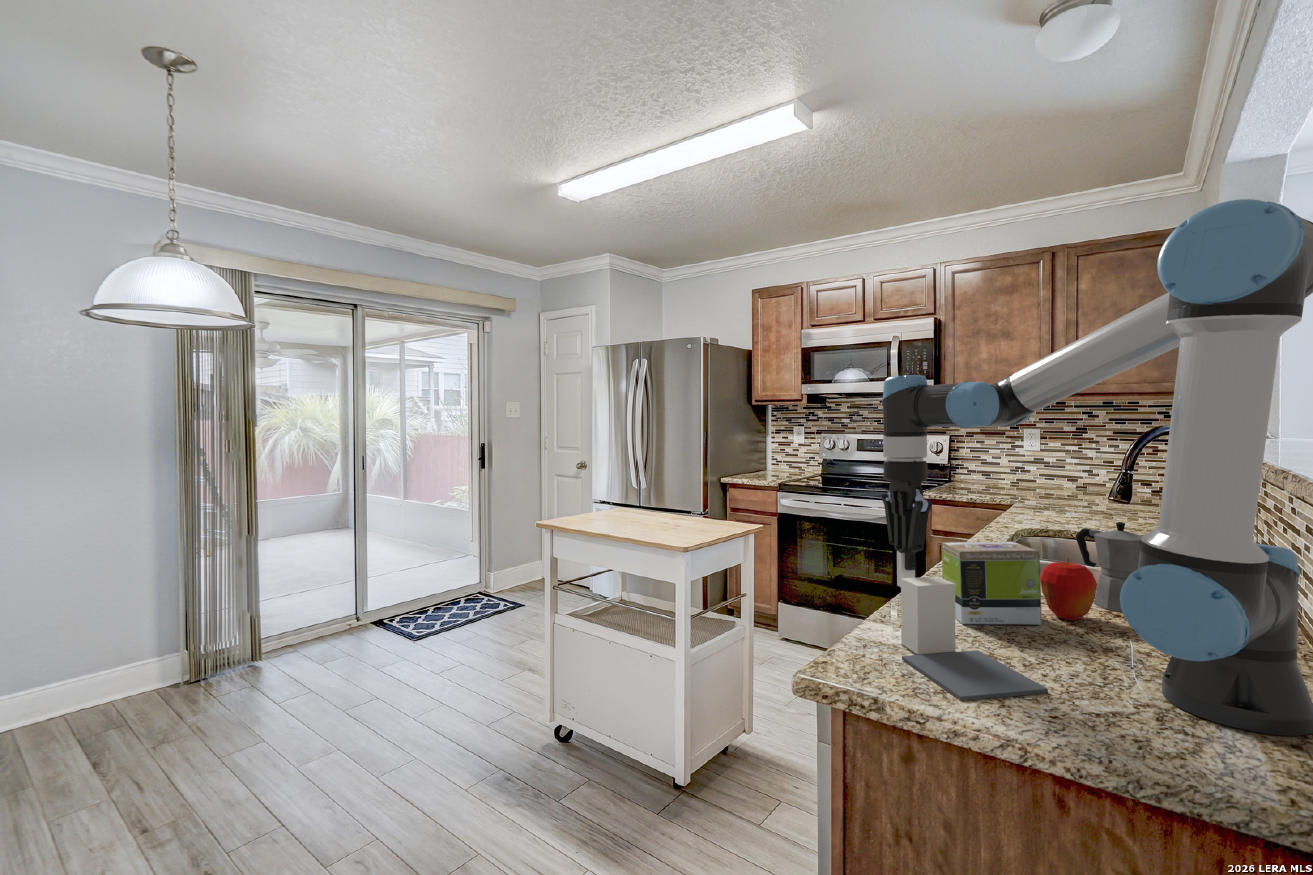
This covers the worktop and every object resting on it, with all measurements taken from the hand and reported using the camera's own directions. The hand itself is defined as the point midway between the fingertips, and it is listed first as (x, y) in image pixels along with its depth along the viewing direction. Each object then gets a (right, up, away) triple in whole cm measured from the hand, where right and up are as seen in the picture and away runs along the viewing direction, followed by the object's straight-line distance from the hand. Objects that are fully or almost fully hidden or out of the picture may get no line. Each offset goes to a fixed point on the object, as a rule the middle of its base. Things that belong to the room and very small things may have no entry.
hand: (906, 586), depth 110 cm
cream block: (+1, -9, -7) cm, 11 cm away
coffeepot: (+51, -8, +16) cm, 54 cm away
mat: (+3, -10, -17) cm, 20 cm away
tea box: (+21, -9, +10) cm, 25 cm away
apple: (+36, -9, +9) cm, 38 cm away
